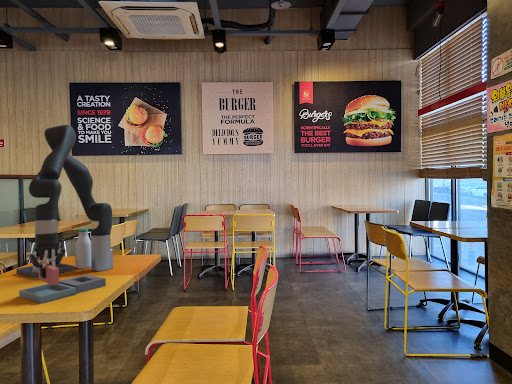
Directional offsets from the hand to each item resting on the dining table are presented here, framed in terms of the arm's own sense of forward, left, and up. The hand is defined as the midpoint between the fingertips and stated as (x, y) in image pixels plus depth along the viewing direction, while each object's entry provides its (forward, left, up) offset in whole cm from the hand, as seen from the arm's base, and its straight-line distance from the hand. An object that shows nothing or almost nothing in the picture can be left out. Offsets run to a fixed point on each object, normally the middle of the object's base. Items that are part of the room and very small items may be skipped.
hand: (47, 277), depth 136 cm
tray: (0, 0, -7) cm, 7 cm away
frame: (-19, -41, -7) cm, 46 cm away
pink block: (0, +6, +1) cm, 6 cm away
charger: (-19, -41, -7) cm, 46 cm away
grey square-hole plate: (-13, 0, -7) cm, 15 cm away
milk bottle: (-35, -35, -7) cm, 50 cm away
